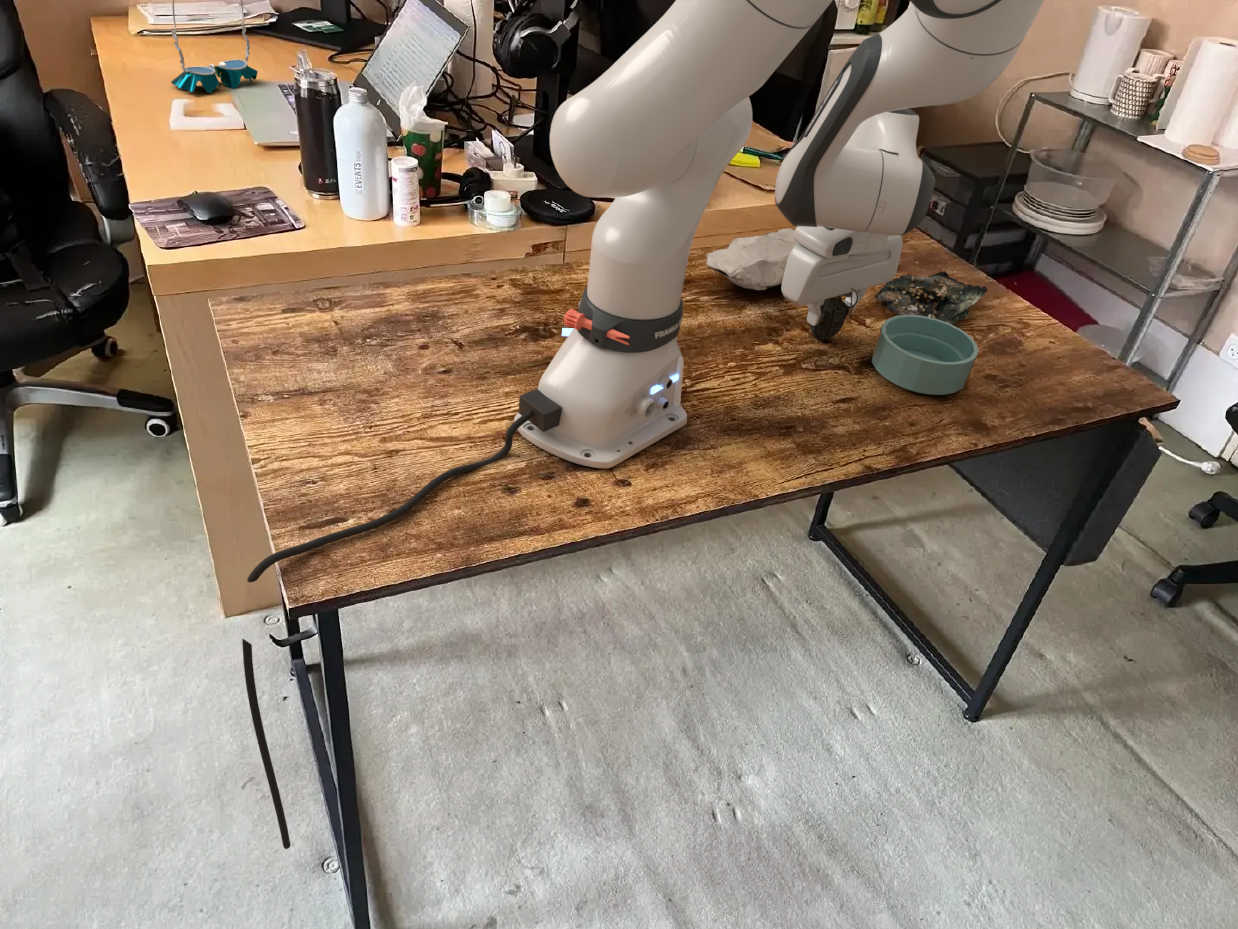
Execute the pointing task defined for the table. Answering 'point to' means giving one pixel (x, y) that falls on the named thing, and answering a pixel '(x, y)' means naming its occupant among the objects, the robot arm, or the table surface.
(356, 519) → the table surface
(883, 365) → the bowl
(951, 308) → the decorative rock
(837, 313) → the grenade
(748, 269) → the stone
